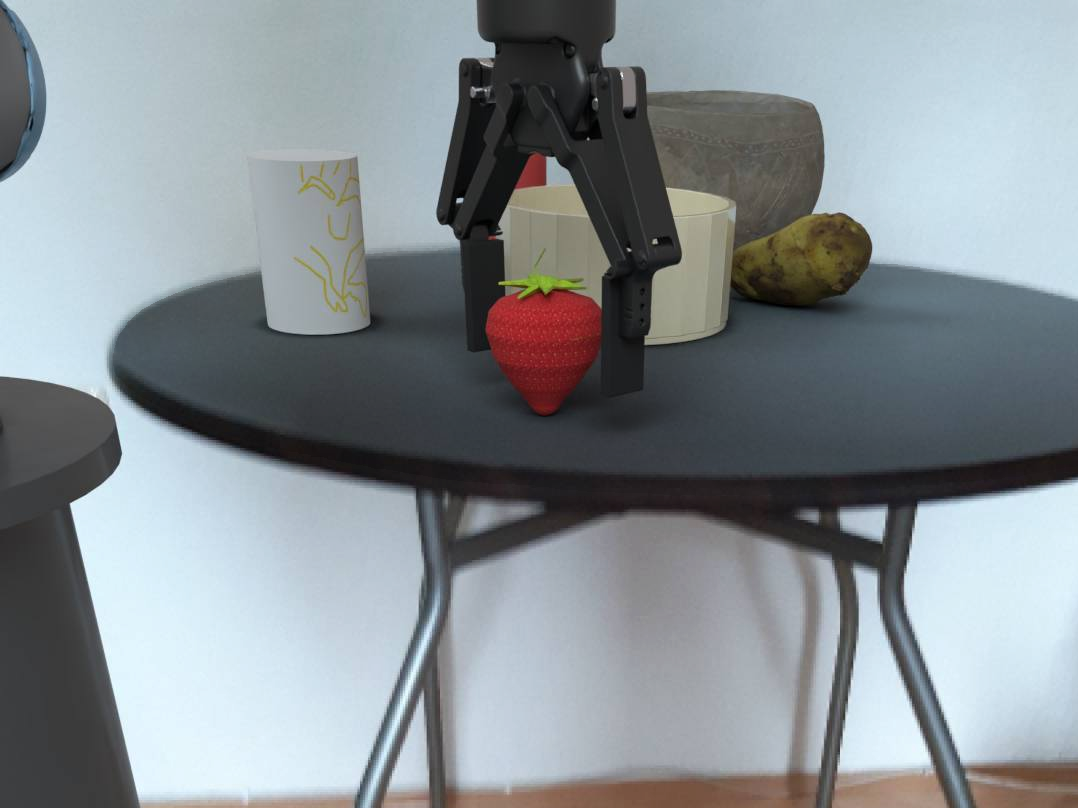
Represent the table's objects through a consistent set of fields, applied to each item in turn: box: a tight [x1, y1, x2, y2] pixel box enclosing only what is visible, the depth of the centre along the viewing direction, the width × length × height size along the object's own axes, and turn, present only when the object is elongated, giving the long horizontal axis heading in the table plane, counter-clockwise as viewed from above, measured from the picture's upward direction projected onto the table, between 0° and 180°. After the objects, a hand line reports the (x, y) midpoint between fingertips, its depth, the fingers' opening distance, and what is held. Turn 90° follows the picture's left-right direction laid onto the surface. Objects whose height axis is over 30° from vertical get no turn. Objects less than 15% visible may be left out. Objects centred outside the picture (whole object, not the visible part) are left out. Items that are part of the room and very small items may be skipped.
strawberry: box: [485, 248, 601, 417], centre depth 74 cm, size 6×8×10 cm
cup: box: [246, 148, 371, 336], centre depth 93 cm, size 8×8×12 cm
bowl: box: [647, 89, 826, 252], centre depth 116 cm, size 21×21×15 cm
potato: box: [730, 211, 873, 307], centre depth 103 cm, size 8×13×8 cm, turn 31°
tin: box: [496, 183, 736, 346], centre depth 98 cm, size 19×19×9 cm
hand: (550, 370), depth 75 cm, fingers open, 13 cm apart
